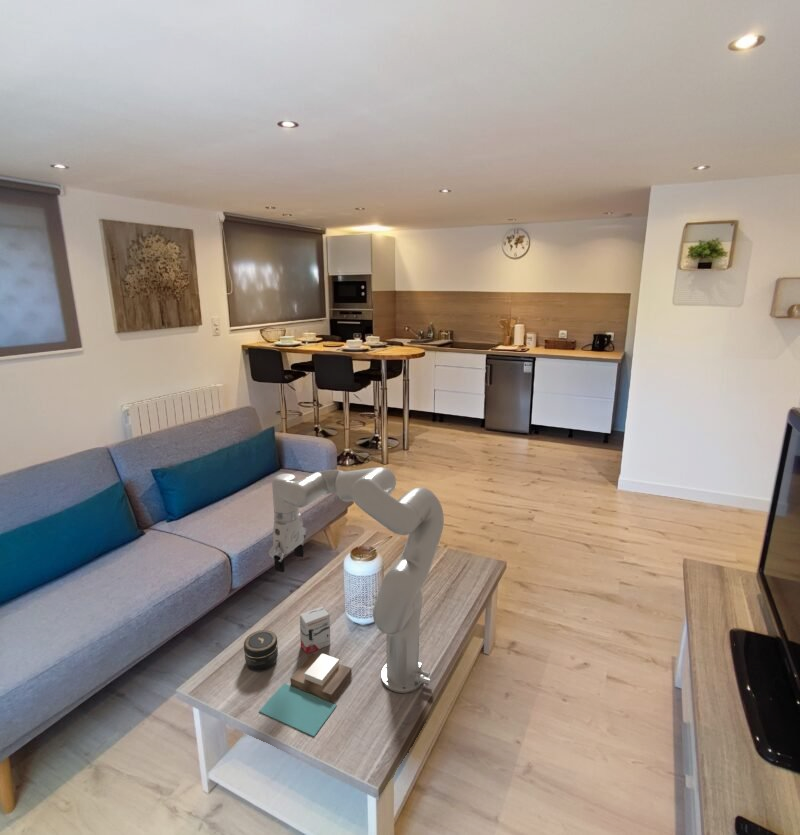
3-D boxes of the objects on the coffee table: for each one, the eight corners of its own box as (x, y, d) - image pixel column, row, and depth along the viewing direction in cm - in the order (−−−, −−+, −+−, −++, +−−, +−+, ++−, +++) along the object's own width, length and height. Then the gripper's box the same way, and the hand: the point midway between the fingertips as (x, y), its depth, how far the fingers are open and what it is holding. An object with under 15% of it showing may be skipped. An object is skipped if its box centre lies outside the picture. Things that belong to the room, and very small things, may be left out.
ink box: (306, 655, 155) (305, 622, 152) (300, 645, 159) (298, 614, 156) (331, 644, 160) (330, 613, 157) (324, 636, 164) (323, 605, 161)
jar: (261, 645, 159) (260, 625, 157) (285, 656, 154) (284, 635, 152) (238, 665, 150) (236, 644, 148) (262, 677, 146) (261, 656, 144)
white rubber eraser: (339, 665, 148) (338, 659, 147) (322, 686, 140) (322, 680, 139) (322, 658, 150) (322, 653, 150) (304, 679, 142) (304, 673, 142)
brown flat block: (351, 675, 147) (351, 668, 146) (331, 702, 137) (331, 694, 137) (312, 660, 153) (312, 653, 152) (290, 685, 143) (290, 678, 142)
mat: (336, 706, 136) (336, 705, 136) (314, 736, 127) (313, 736, 127) (284, 684, 143) (284, 683, 143) (259, 711, 134) (259, 710, 134)
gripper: (278, 528, 142) (281, 580, 146) (313, 505, 157) (315, 553, 162) (258, 522, 145) (262, 574, 150) (294, 501, 160) (296, 548, 165)
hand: (289, 563), depth 156 cm, fingers open, 9 cm apart
